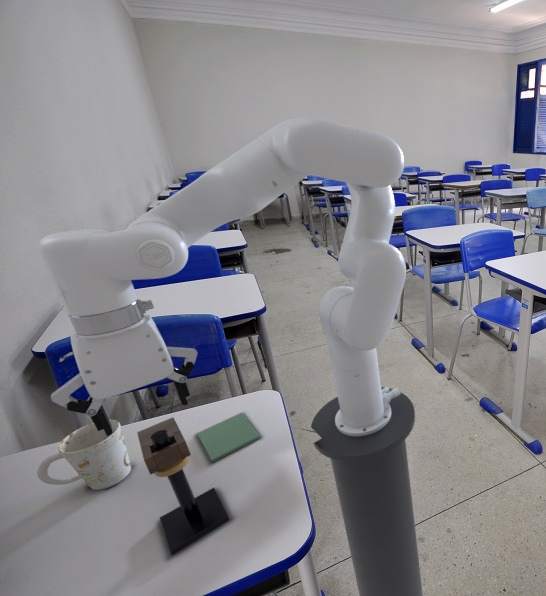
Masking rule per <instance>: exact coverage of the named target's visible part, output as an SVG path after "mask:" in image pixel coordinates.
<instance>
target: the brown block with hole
mask: <svg viewBox="0 0 546 596" xmlns="http://www.w3.org/2000/svg"><path fill="white" fill-rule="evenodd" d="M160 430H166V431H167V432H168V435H169V437H170V439H171V442H172V445H170V446H167V447H165V448H163V449H161V450H159V451H157V452H156V450H155V447H154V445H153V443H152V441H151V436H152V434H154V433H155V432H157V431H160ZM137 437H138V442H139V445H140V450H141V454H142V457H143V461H144V463H145V466H146V468H147V470H148V473H149V475H153V474H154V473H155V472H157V471H159V470H161V469H163V468H165V467H167V466H169V465H171V464H173V463H176V462H178V461H180V460H182V459H184V458H186V457H190V456H191V455H192V454H191V452H190V449H189V446H188V444H187V441H186V439H185V436H184V435H183V433H182V431H181V429H180V427H179V425H178V424H177V422H176V420H175V418H174V416H172V417H170V418H167V419H165V420H163V421H160V422H158V423H156V424H154V425H151V426H149V427H146V428H145V429H144V428H143V429H141V430H139V431H137Z"/></svg>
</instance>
